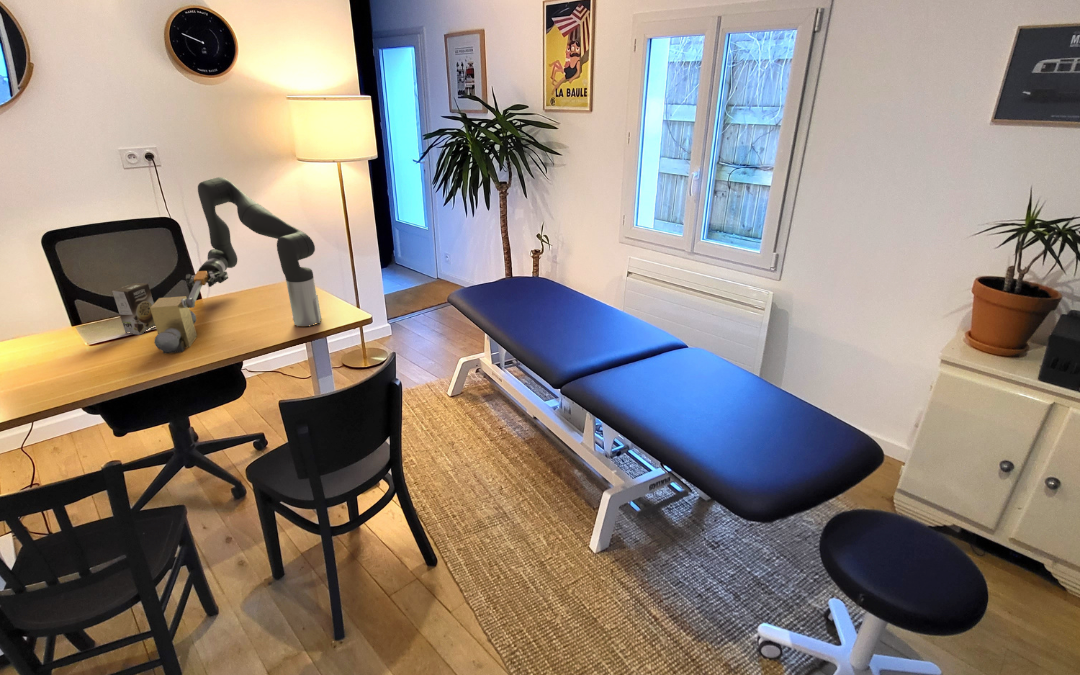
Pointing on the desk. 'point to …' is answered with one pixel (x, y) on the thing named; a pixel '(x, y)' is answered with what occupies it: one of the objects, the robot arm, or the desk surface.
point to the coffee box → (135, 307)
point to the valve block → (173, 324)
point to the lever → (196, 287)
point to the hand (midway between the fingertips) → (200, 284)
